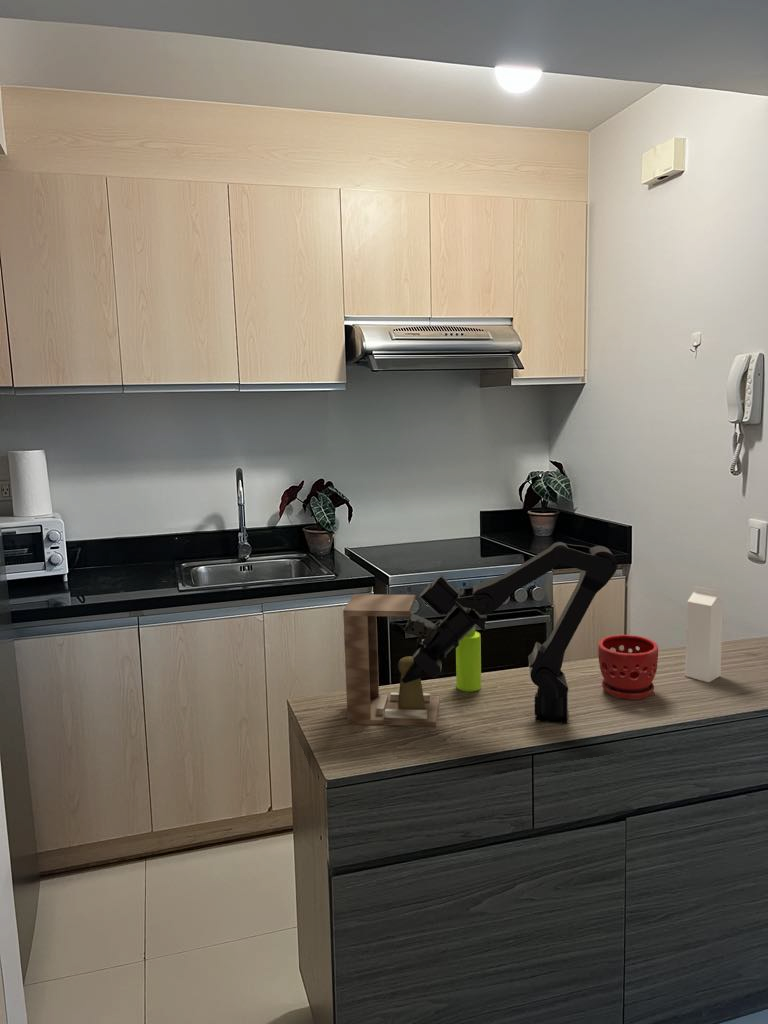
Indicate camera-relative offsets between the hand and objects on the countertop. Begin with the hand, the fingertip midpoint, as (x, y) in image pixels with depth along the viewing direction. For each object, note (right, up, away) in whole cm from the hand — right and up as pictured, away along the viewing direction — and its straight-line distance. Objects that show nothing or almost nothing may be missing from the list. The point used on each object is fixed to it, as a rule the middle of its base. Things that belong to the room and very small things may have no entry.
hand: (404, 677), depth 167 cm
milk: (+73, -4, +17) cm, 75 cm away
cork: (+2, -7, +1) cm, 7 cm away
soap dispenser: (+16, -6, +14) cm, 22 cm away
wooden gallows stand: (-2, -8, +2) cm, 9 cm away
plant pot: (+52, -6, +9) cm, 53 cm away
